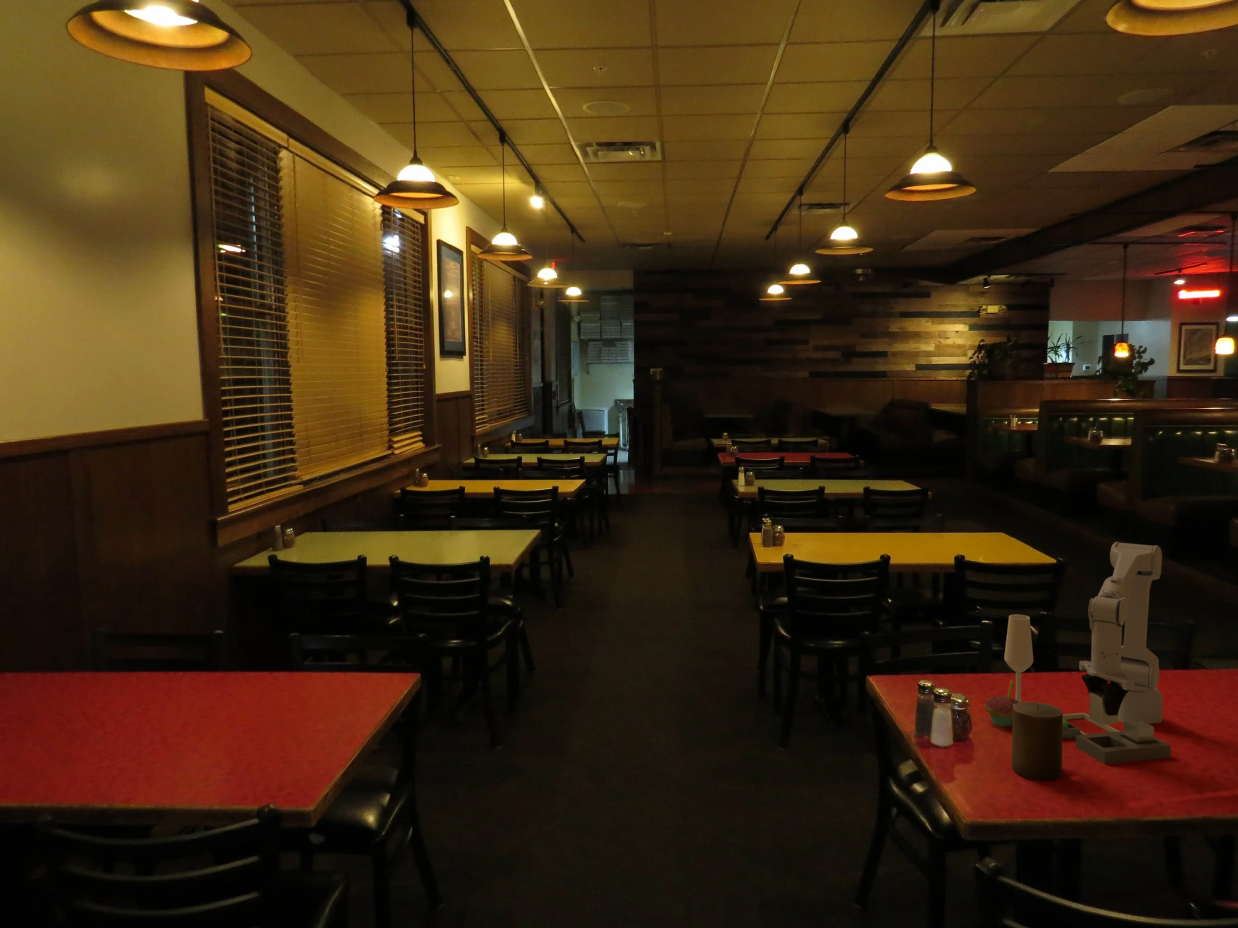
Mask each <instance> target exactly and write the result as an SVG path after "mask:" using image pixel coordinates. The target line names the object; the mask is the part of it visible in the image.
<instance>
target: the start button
mask: <svg viewBox="0 0 1238 928" xmlns="http://www.w3.org/2000/svg"><path fill="white" fill-rule="evenodd" d="M1068 724H1069V721H1068V720H1065V719H1063V725H1062V729H1064V728H1068Z"/></svg>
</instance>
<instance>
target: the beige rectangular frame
mask: <svg viewBox="0 0 1238 928" xmlns="http://www.w3.org/2000/svg"><path fill="white" fill-rule="evenodd" d="M1063 719H1065V720H1067V721H1068V720H1076V719H1077V720H1078V719H1085V720H1086V721H1089V722H1090V723H1093V724H1094V725H1096V726H1098V727H1100V728H1101V729H1103V730H1105V731H1107V732H1118V731H1119V730H1118V729H1116V728H1114V727H1113V726H1110V725H1109V724H1105V725H1101V724H1100V723H1098V722H1096V721H1094V720H1092V719H1090V718H1089V714H1087V713H1085V712H1077V713H1067V714H1063ZM1087 734H1088V733H1085V732H1083V731H1082V730H1080V735H1087Z"/></svg>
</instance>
